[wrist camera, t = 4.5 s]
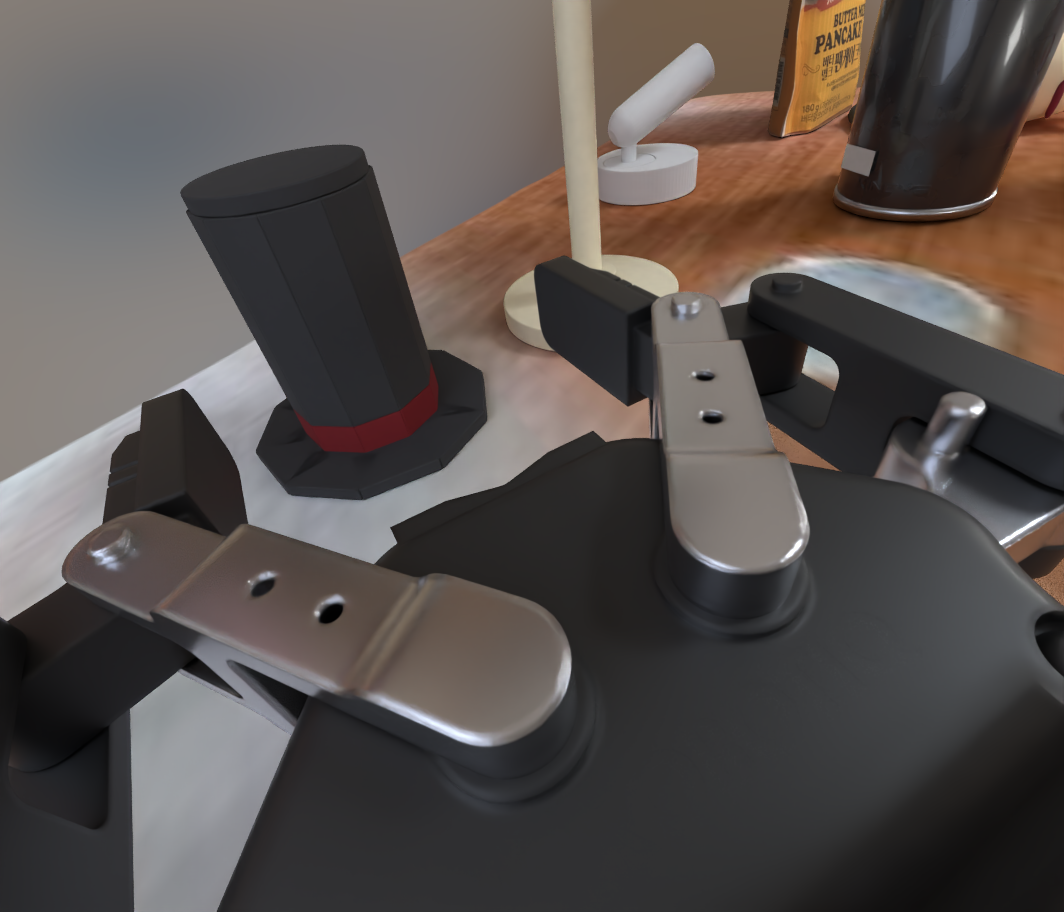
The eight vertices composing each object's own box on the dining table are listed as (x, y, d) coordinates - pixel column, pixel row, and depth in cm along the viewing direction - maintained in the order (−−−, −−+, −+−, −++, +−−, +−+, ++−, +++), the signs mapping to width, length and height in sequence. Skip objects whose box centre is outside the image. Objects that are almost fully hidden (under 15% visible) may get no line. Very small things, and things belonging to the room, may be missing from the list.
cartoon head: (1109, 168, 43) (848, 149, 53) (1155, 76, 44) (888, 74, 54) (1176, 66, 35) (857, 67, 46) (1230, -43, 36) (904, -18, 47)
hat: (408, 338, 31) (339, 124, 24) (534, 407, 24) (492, 138, 17) (234, 428, 26) (80, 195, 19) (329, 544, 20) (149, 253, 12)
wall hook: (747, 40, 38) (625, 66, 36) (730, 183, 44) (626, 212, 42) (678, 39, 44) (571, 62, 42) (672, 165, 50) (579, 189, 48)
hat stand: (585, 261, 36) (561, -123, 24) (713, 295, 30) (765, -194, 18) (473, 320, 32) (375, -113, 20) (595, 375, 26) (562, -203, 14)
